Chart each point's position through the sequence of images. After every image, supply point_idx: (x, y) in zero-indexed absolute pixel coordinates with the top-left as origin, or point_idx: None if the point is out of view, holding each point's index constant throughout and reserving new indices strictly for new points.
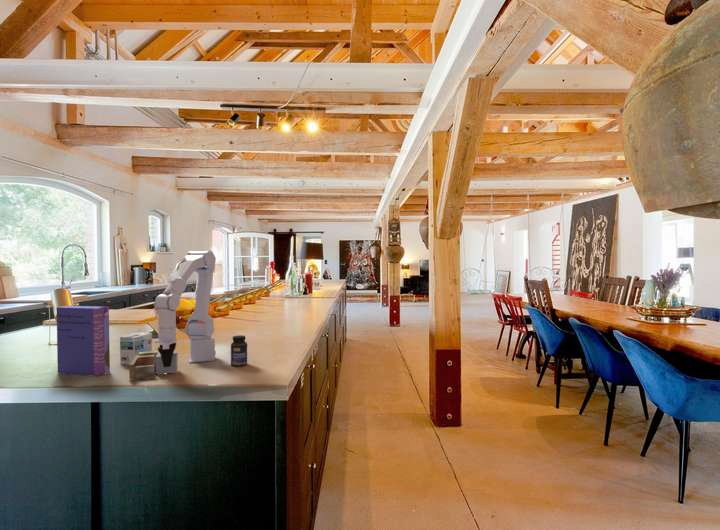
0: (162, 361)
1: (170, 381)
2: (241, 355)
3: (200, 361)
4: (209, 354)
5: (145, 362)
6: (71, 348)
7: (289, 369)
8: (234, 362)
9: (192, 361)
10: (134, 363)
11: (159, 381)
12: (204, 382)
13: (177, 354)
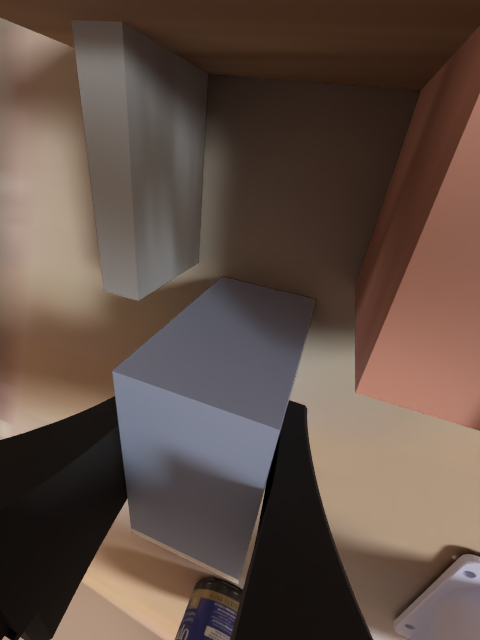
0: None
1: (55, 325)
2: None
3: (427, 589)
4: None
5: (401, 214)
6: None
7: (113, 600)
8: (195, 600)
9: (455, 571)
10: None
11: (65, 273)
12: (25, 422)
13: (162, 546)
